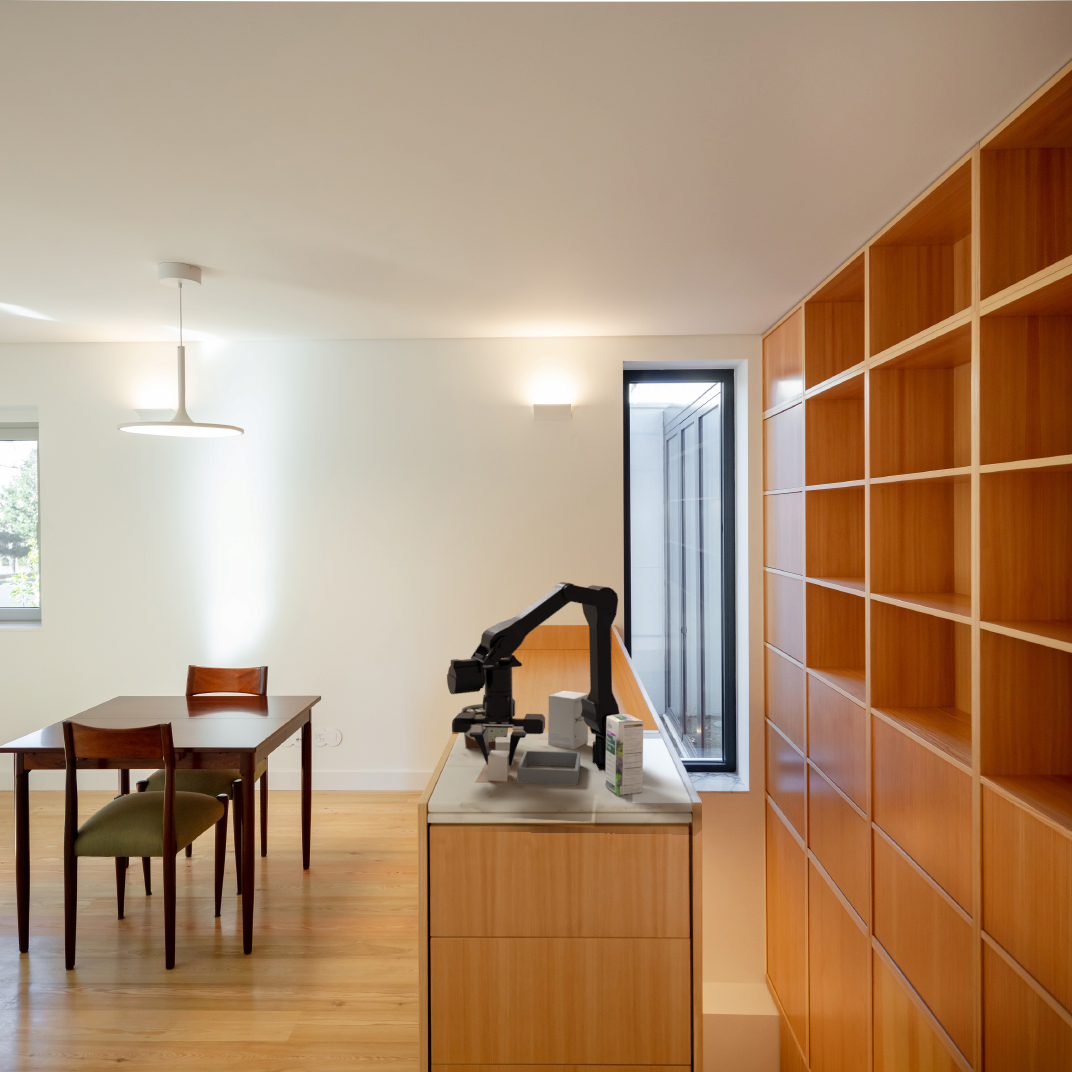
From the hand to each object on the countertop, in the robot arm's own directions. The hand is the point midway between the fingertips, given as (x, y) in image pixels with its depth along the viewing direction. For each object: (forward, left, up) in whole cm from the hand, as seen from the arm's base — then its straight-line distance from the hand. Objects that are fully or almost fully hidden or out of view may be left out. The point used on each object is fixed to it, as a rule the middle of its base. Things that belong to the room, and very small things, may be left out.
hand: (499, 764), depth 147 cm
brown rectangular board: (+1, -5, -4) cm, 6 cm away
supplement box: (-12, -27, -4) cm, 29 cm away
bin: (-10, -4, -4) cm, 11 cm away
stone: (0, 0, -3) cm, 3 cm away
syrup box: (-25, +1, -4) cm, 26 cm away
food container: (+7, -23, -4) cm, 24 cm away
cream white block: (+1, -10, -3) cm, 10 cm away
